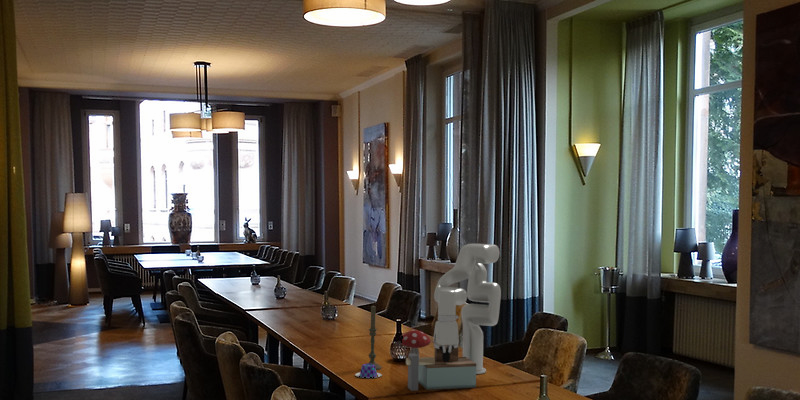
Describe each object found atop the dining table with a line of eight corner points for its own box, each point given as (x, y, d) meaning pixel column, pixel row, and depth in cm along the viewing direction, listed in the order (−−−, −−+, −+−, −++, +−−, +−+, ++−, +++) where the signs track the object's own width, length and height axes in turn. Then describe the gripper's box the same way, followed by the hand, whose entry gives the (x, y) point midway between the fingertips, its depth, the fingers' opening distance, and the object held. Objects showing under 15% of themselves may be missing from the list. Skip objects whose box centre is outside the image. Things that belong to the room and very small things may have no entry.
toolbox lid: (418, 363, 325) (418, 344, 325) (465, 361, 331) (465, 343, 331) (427, 370, 312) (427, 351, 312) (476, 368, 317) (476, 349, 317)
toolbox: (402, 382, 323) (402, 349, 323) (465, 379, 330) (465, 347, 331) (411, 390, 309) (411, 356, 309) (476, 387, 316) (477, 354, 316)
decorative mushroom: (436, 360, 371) (437, 330, 371) (413, 364, 360) (413, 333, 360) (415, 355, 383) (415, 326, 383) (392, 358, 372) (392, 329, 372)
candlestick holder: (381, 366, 355) (382, 303, 355) (381, 370, 346) (383, 306, 346) (362, 365, 355) (363, 303, 355) (362, 370, 346) (363, 306, 346)
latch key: (405, 364, 313) (405, 358, 313) (432, 363, 316) (433, 357, 316) (407, 365, 310) (407, 359, 310) (434, 364, 313) (434, 358, 313)
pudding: (366, 380, 326) (366, 368, 326) (349, 375, 335) (350, 364, 335) (387, 377, 334) (387, 365, 334) (370, 372, 343) (370, 360, 343)
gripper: (460, 316, 321) (459, 359, 321) (427, 317, 318) (426, 360, 317) (466, 319, 314) (465, 362, 314) (432, 320, 310) (431, 364, 310)
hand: (445, 361), depth 316 cm, fingers closed
